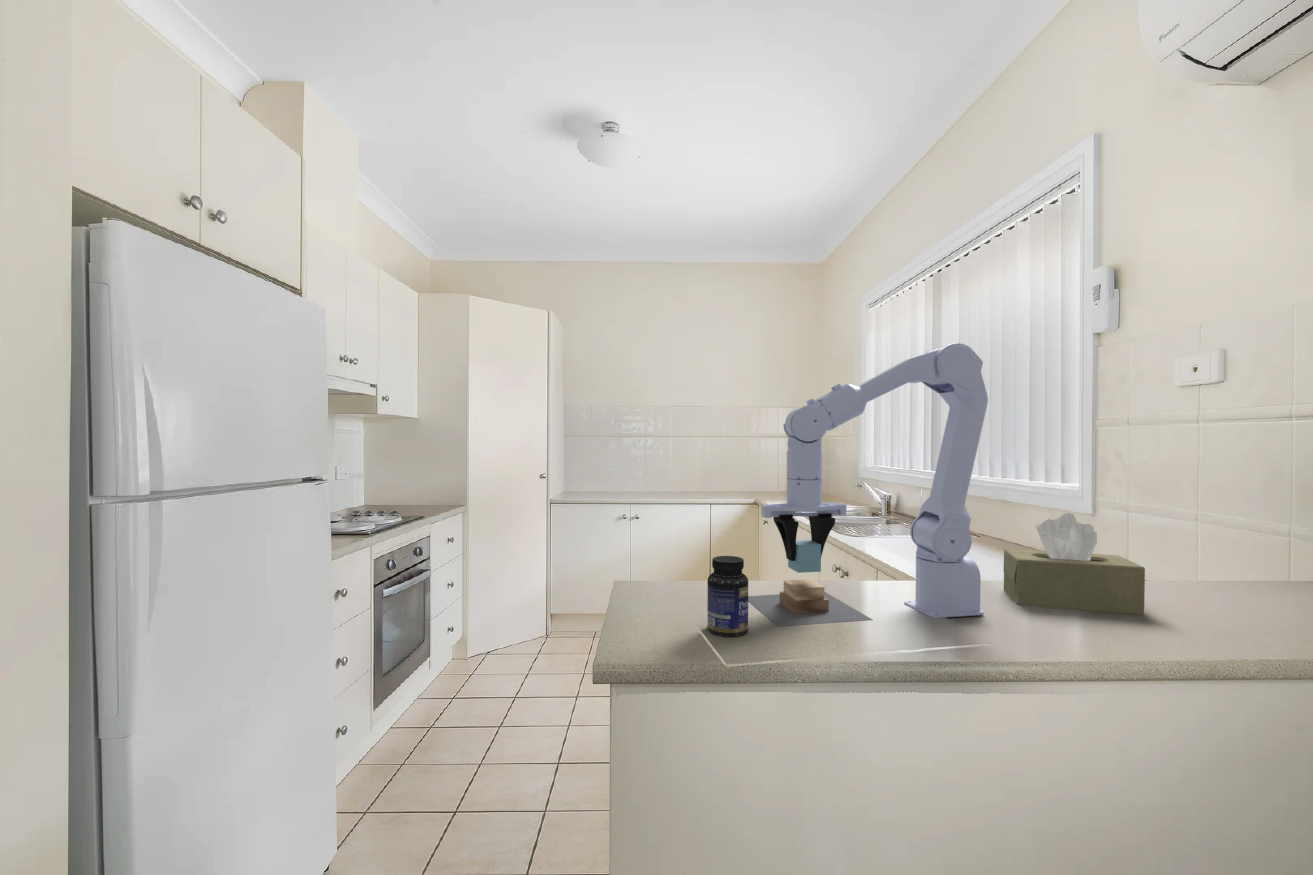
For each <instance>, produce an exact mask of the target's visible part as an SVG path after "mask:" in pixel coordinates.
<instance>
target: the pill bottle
mask: <svg viewBox="0 0 1313 875" xmlns="http://www.w3.org/2000/svg"><path fill="white" fill-rule="evenodd" d="M711 560H712V562H711V564H712V569H713V572H711V573H710V574H709V575H708V577H707V615H706V616H707V626H706V628H707V630H708V632H709V633H710V634H712V635H715V636H717V637H725V638H737V637H742V636H744V635H747V633H748V632H749V602H748V596H749V578H748V577H747V575H746V574H745V573H743V569H744V566H745V562H744V561H745V560H744V558H742V557H740V556H735V555H720V556H719V555H718V556H715V557H713V558H712V559H711Z"/></svg>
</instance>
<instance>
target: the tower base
mask: <svg viewBox="0 0 1313 875" xmlns="http://www.w3.org/2000/svg"><path fill="white" fill-rule="evenodd" d="M779 594H780V604H782V605H783V606H784V607H786V608H787V609H788V610H790V611H791V612H792V613H794V614H802V613H818V612H829V600H828V599H827V598H825V597H824V599H817V600H800V601H796V600H794V599H793V598H791V597H790V596H788V595H787V594H786V593H784V590H783V591H779Z"/></svg>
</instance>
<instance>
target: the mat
mask: <svg viewBox="0 0 1313 875" xmlns="http://www.w3.org/2000/svg"><path fill="white" fill-rule="evenodd" d="M824 597H825V598H827V599H828V600H829V612H818V613H802V614H794V613H792V612H791V611H790V610H788V609H787V608H786V607H784V606H783V605H782V604H780V593H779V594H763V595H761V594H759V595H748V604H750V605H751V606H753V607H754V608H755V609H757V611H759V613H761V614H762V615H763V616H765V617H766V618H767V619H768V620H769V621H771V622H772V623H773V624H774V625H775V626H776V627H778V628H779V627H790V626H791V627H792V626H803V625H804V626H805V625H820V624H833V623H834V624H835V623H848V622H850V623H851V622H862V621H863V622H865V621H866V622H867V621H874V619H872V618H871V617H869V616H867V615H866V614H865V613H862V612H860V611H859V610H857V609H856V608H854V607H852V606H850V605H849V604H847V603H845V602H844V601H841V600H840V599H837V598H836V597H835V596H834V595H831V594H830V593H828V592H826V591H824Z"/></svg>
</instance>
